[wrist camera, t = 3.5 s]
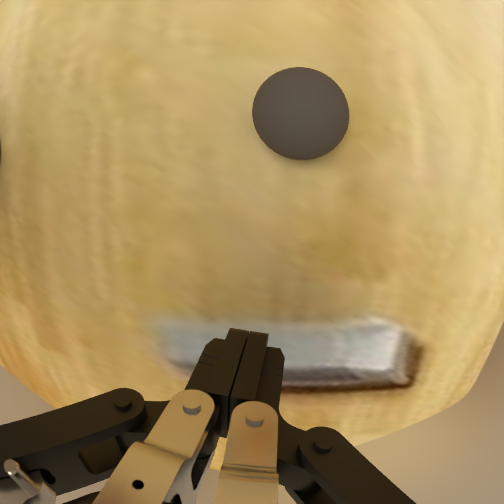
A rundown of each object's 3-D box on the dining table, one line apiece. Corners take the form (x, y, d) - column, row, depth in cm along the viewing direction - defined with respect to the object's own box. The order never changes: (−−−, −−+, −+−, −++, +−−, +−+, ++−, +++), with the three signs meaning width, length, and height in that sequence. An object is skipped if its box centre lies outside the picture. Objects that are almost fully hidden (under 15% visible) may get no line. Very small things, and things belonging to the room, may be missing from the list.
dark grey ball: (319, 172, 20) (327, 181, 14) (244, 136, 19) (226, 132, 14) (354, 102, 18) (375, 88, 12) (280, 65, 17) (273, 39, 12)
